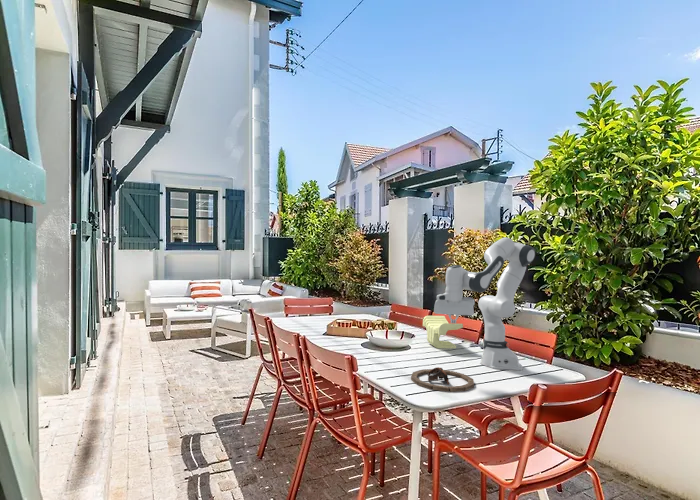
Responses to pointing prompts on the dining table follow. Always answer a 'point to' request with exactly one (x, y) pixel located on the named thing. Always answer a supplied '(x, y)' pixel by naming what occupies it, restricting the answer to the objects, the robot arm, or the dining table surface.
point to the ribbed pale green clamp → (439, 330)
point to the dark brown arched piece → (438, 375)
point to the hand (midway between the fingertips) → (453, 323)
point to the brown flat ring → (440, 388)
